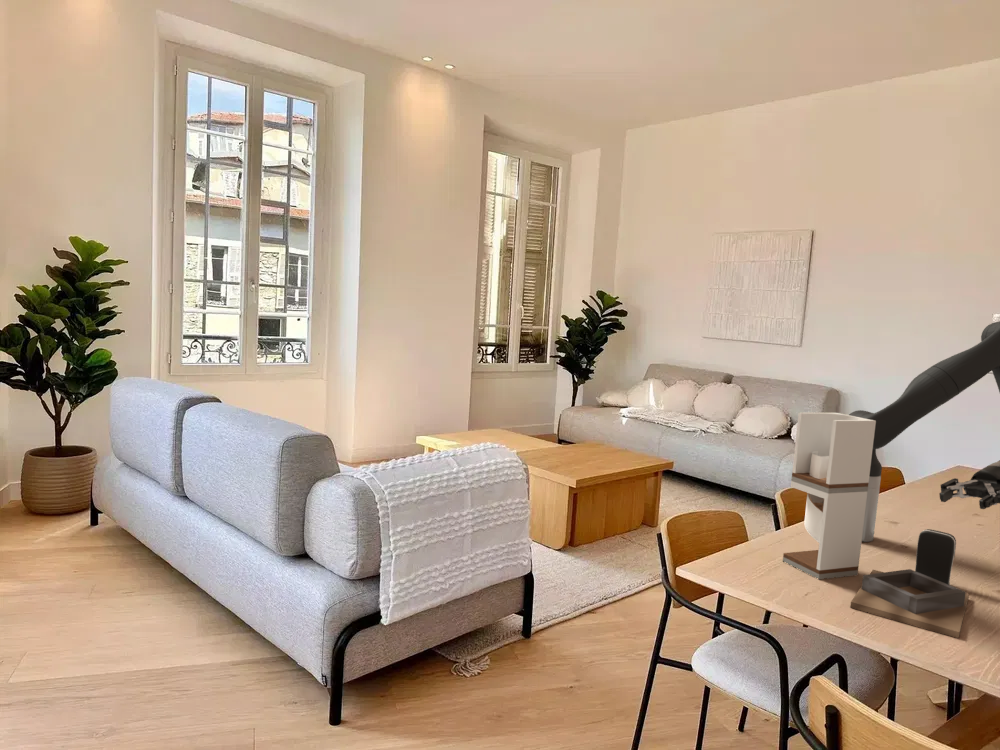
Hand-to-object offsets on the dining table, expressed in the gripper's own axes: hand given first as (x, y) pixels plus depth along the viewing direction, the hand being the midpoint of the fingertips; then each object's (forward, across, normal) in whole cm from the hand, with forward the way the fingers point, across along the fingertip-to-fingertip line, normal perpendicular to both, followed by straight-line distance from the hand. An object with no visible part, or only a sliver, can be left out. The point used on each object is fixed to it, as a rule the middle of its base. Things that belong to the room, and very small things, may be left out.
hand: (961, 501), depth 161 cm
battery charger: (+16, +1, +13) cm, 21 cm away
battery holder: (+33, +6, +9) cm, 35 cm away
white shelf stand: (+34, -14, +7) cm, 37 cm away
